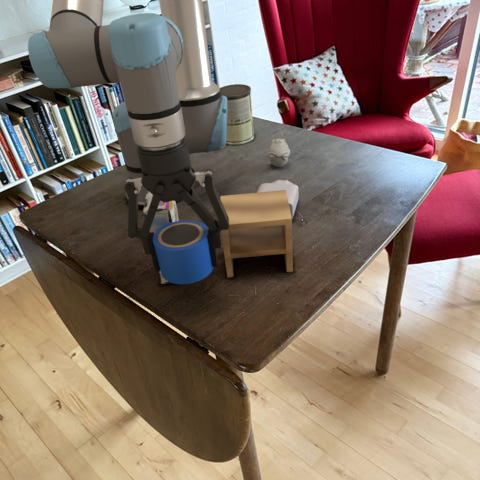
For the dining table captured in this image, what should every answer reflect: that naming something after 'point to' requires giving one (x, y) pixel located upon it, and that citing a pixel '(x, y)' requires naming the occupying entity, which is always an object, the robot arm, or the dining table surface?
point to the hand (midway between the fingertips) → (186, 264)
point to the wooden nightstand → (257, 227)
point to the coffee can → (238, 113)
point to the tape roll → (183, 251)
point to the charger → (283, 185)
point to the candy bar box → (161, 218)
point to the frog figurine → (278, 152)
